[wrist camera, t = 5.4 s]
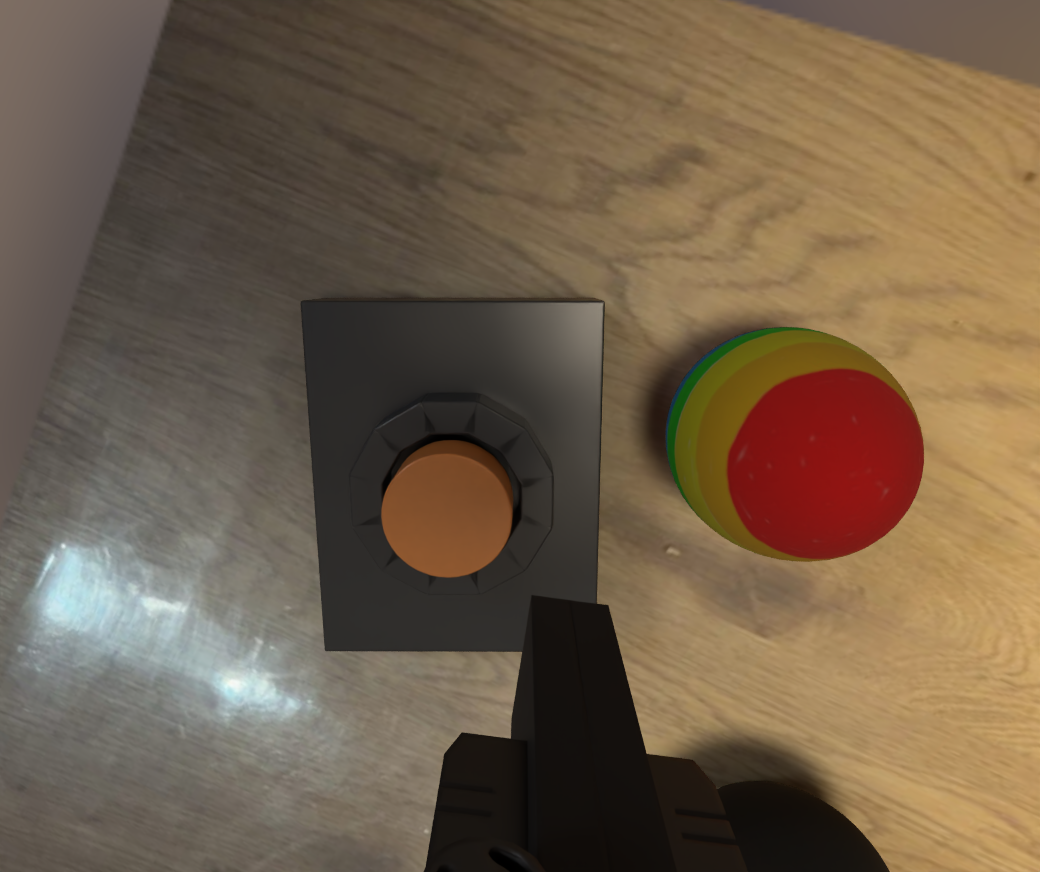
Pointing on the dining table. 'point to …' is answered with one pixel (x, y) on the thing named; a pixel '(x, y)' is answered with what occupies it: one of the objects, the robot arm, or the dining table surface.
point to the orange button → (448, 509)
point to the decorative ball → (794, 831)
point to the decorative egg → (794, 444)
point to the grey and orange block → (453, 416)
